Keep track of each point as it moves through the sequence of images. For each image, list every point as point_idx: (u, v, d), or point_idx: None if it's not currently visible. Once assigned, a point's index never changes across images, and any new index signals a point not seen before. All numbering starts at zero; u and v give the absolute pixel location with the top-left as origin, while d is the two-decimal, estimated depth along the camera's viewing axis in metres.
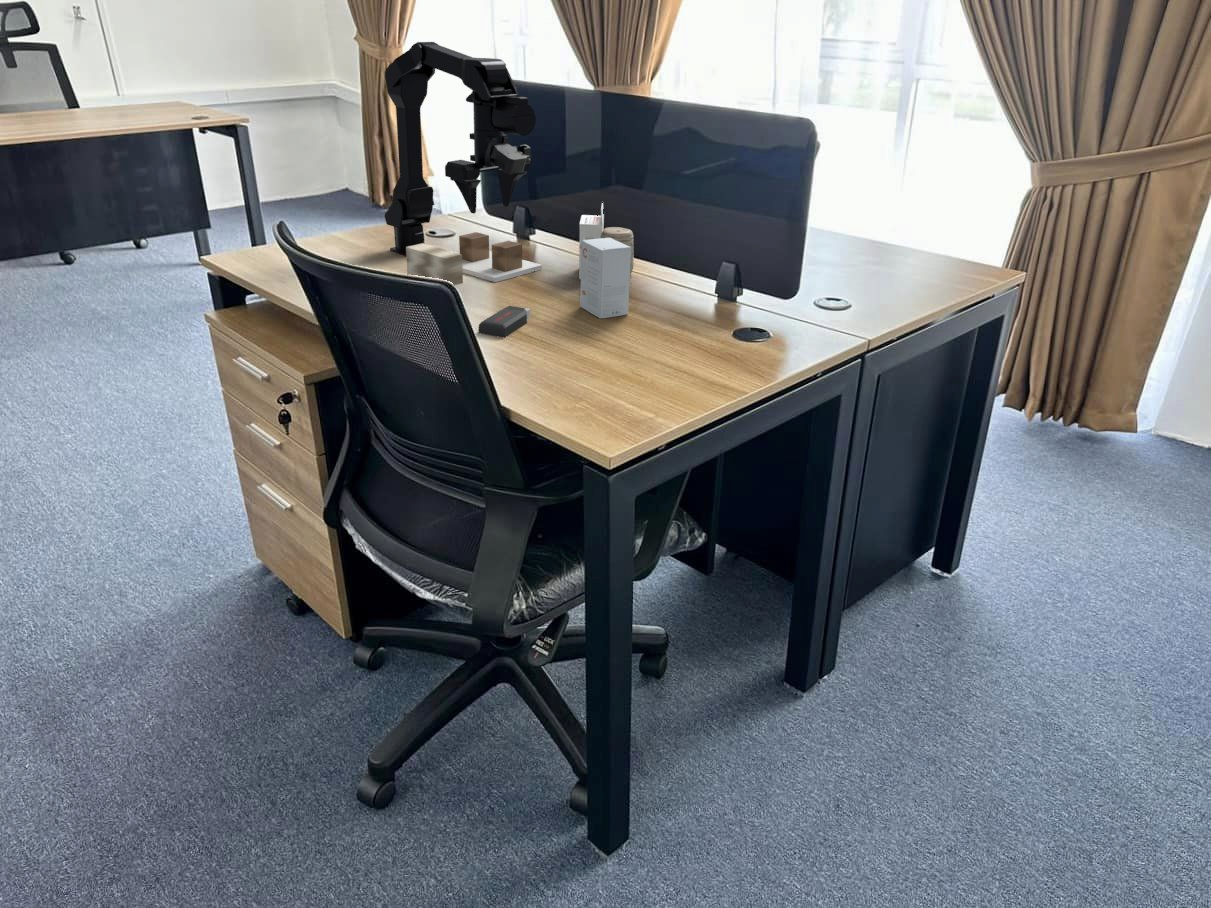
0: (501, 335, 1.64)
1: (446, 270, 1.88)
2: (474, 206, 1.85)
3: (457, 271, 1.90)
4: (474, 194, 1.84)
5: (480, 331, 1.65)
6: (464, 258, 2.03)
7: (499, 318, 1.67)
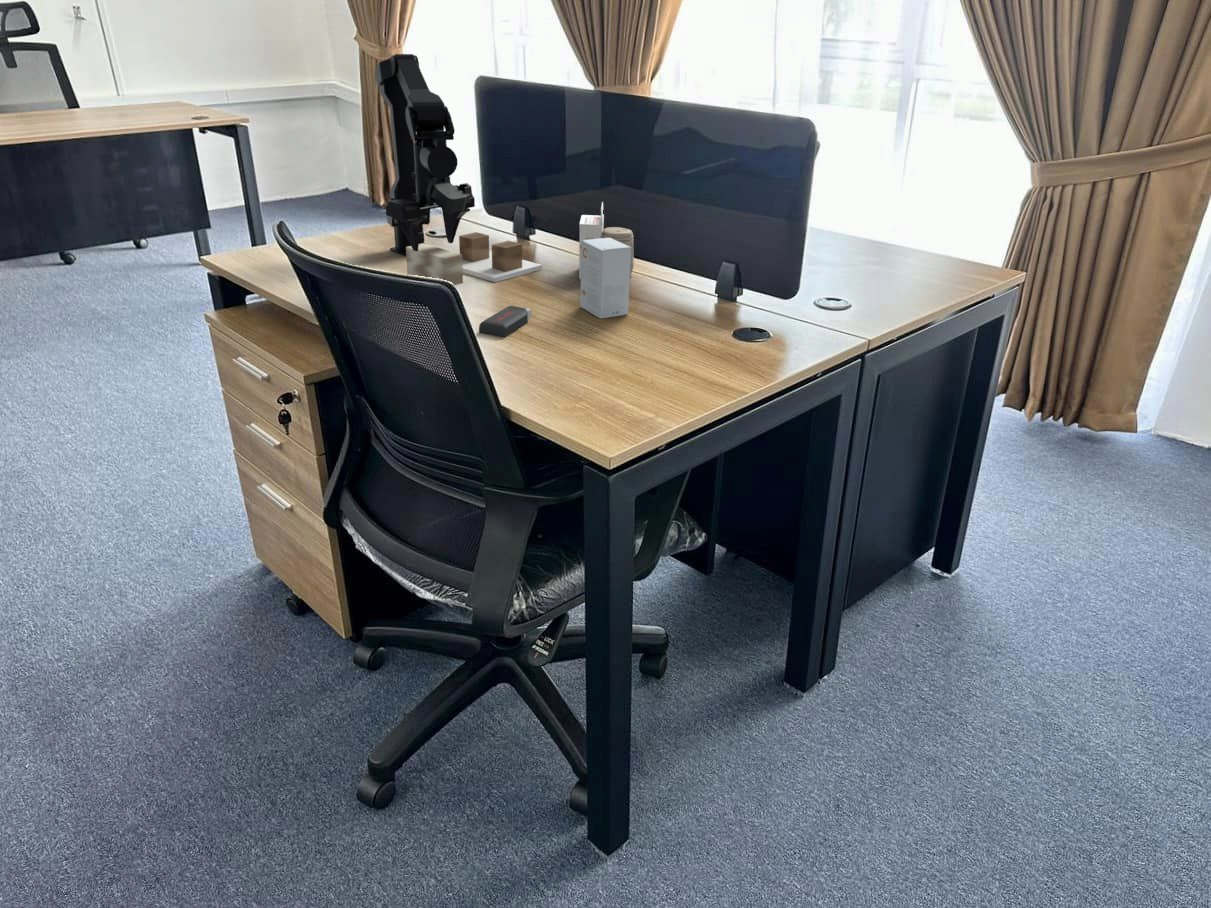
0: (501, 335, 1.64)
1: (446, 271, 1.88)
2: (416, 244, 1.87)
3: (457, 271, 1.90)
4: (415, 232, 1.85)
5: (480, 331, 1.65)
6: (464, 258, 2.03)
7: (499, 318, 1.67)
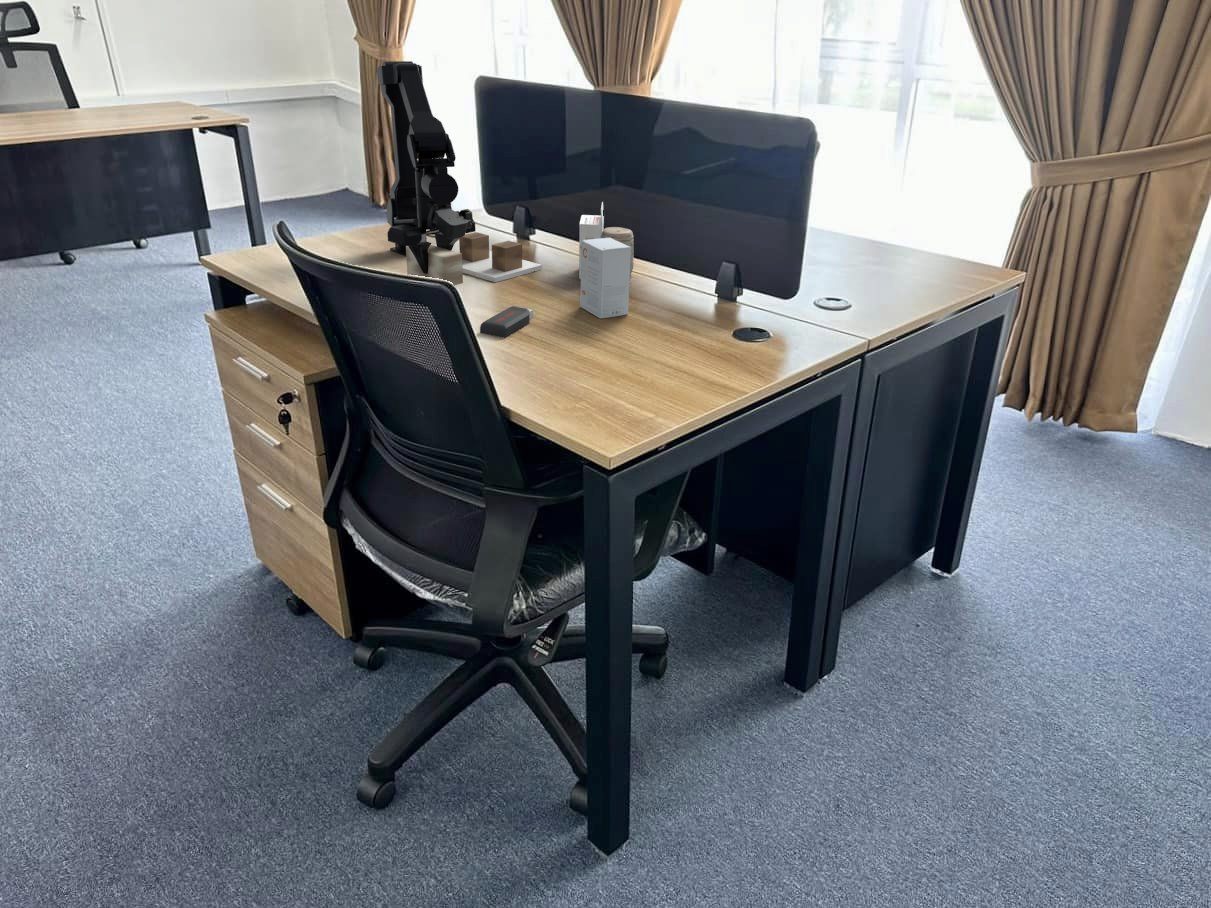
0: (502, 335, 1.64)
1: (446, 270, 1.88)
2: (426, 267, 1.90)
3: (457, 271, 1.90)
4: (425, 256, 1.89)
5: (481, 331, 1.65)
6: (464, 258, 2.03)
7: (500, 318, 1.67)
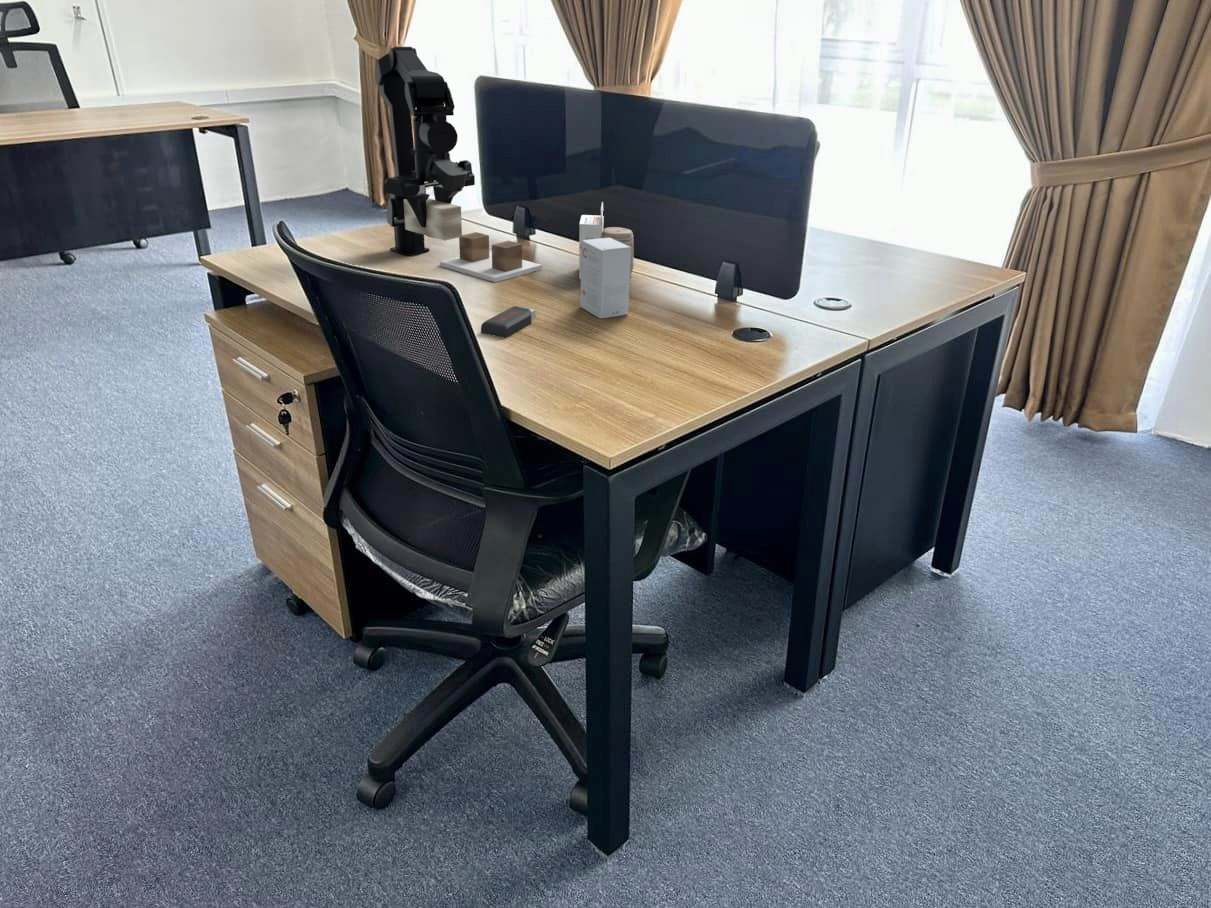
0: (503, 335, 1.64)
1: (444, 223, 1.84)
2: (424, 220, 1.86)
3: (456, 224, 1.86)
4: (424, 208, 1.84)
5: (482, 331, 1.65)
6: (464, 258, 2.03)
7: (502, 318, 1.66)
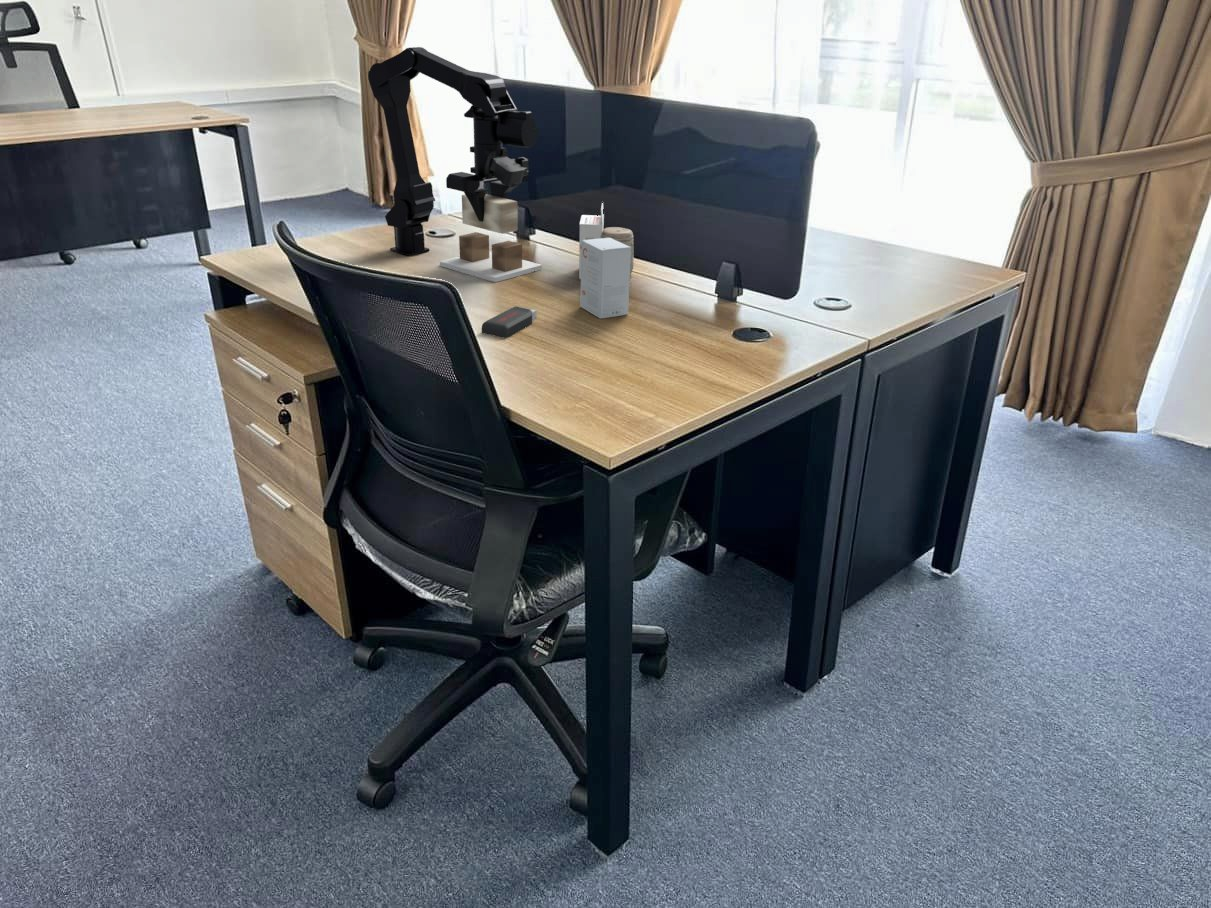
0: (503, 336, 1.64)
1: (502, 217, 1.92)
2: (482, 214, 1.95)
3: (512, 218, 1.95)
4: (482, 203, 1.93)
5: (483, 331, 1.65)
6: (464, 258, 2.03)
7: (502, 319, 1.66)
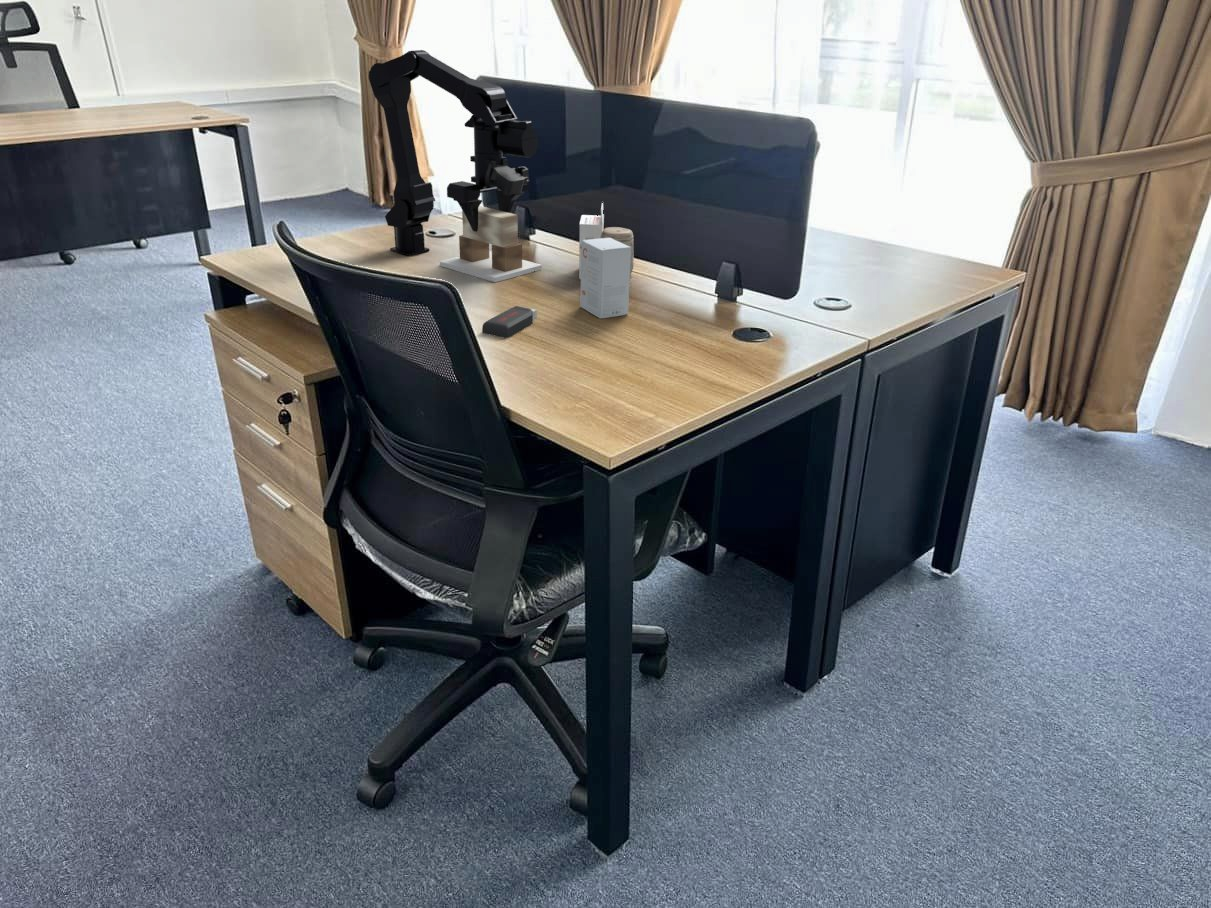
0: (504, 335, 1.64)
1: (502, 230, 1.94)
2: (476, 225, 1.95)
3: (512, 231, 1.96)
4: (476, 213, 1.93)
5: (484, 331, 1.65)
6: (464, 258, 2.03)
7: (503, 318, 1.66)
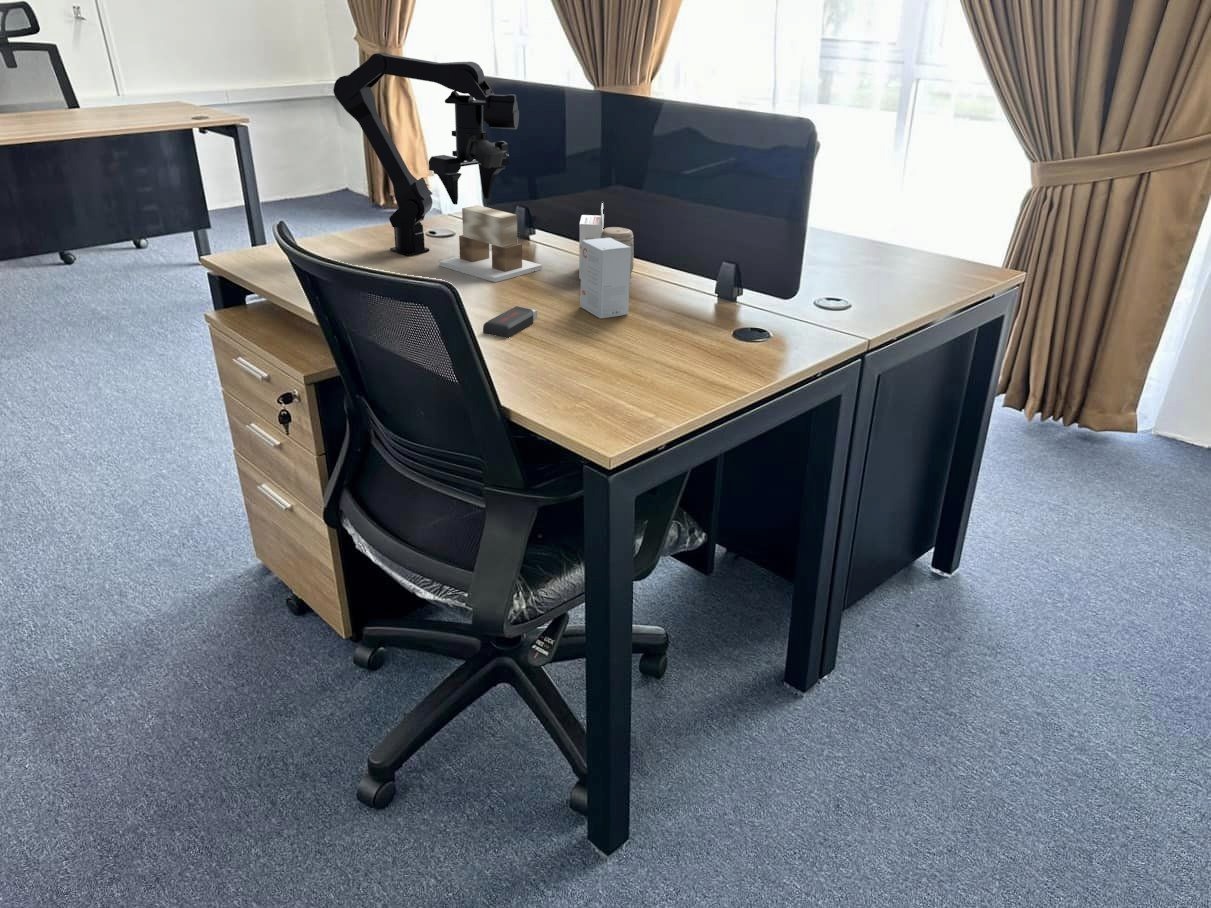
0: (505, 336, 1.64)
1: (502, 230, 1.94)
2: (456, 198, 2.01)
3: (512, 231, 1.96)
4: (456, 186, 1.99)
5: (484, 331, 1.65)
6: (464, 258, 2.03)
7: (504, 319, 1.66)
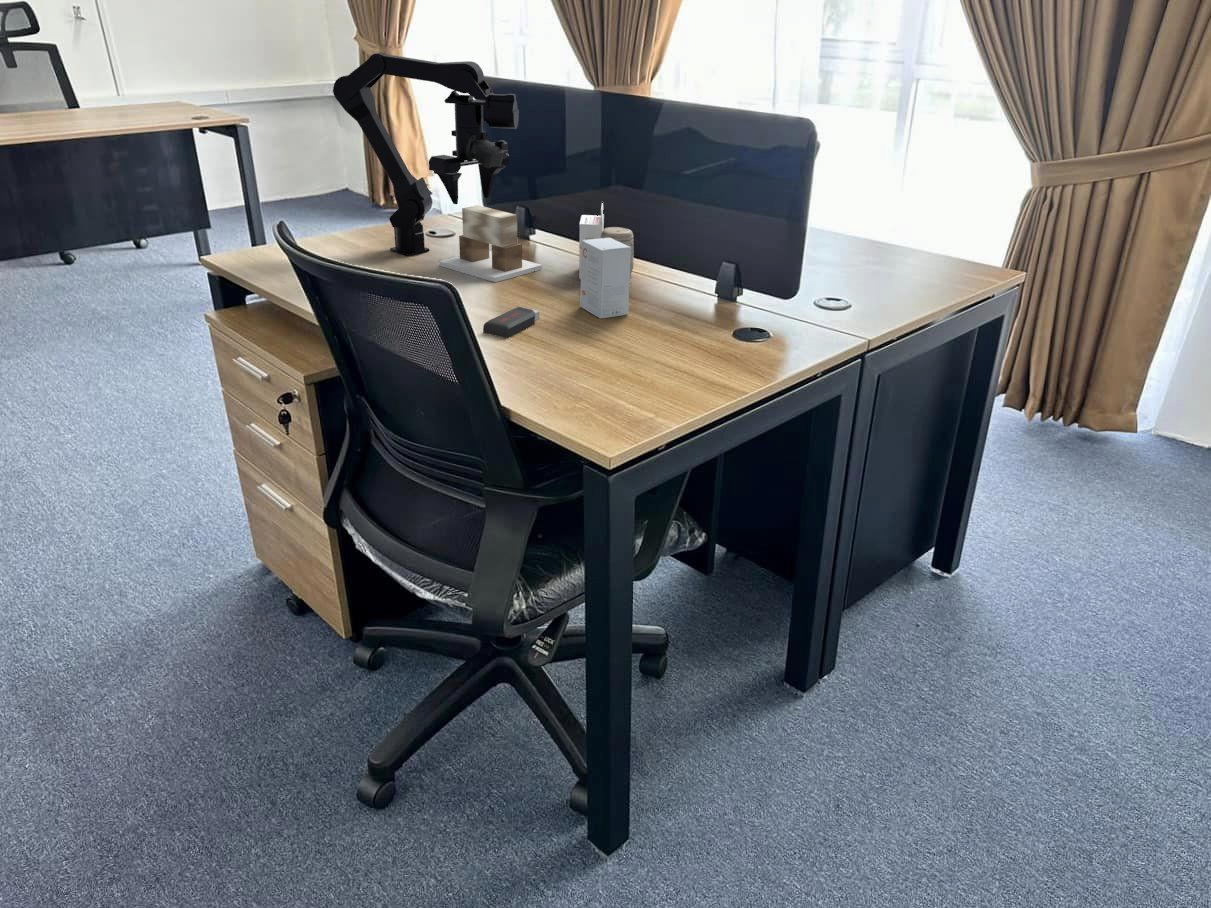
0: (504, 336, 1.64)
1: (502, 230, 1.94)
2: (456, 197, 2.01)
3: (512, 231, 1.96)
4: (456, 186, 1.99)
5: (485, 331, 1.66)
6: (464, 258, 2.03)
7: (504, 319, 1.66)
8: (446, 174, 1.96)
